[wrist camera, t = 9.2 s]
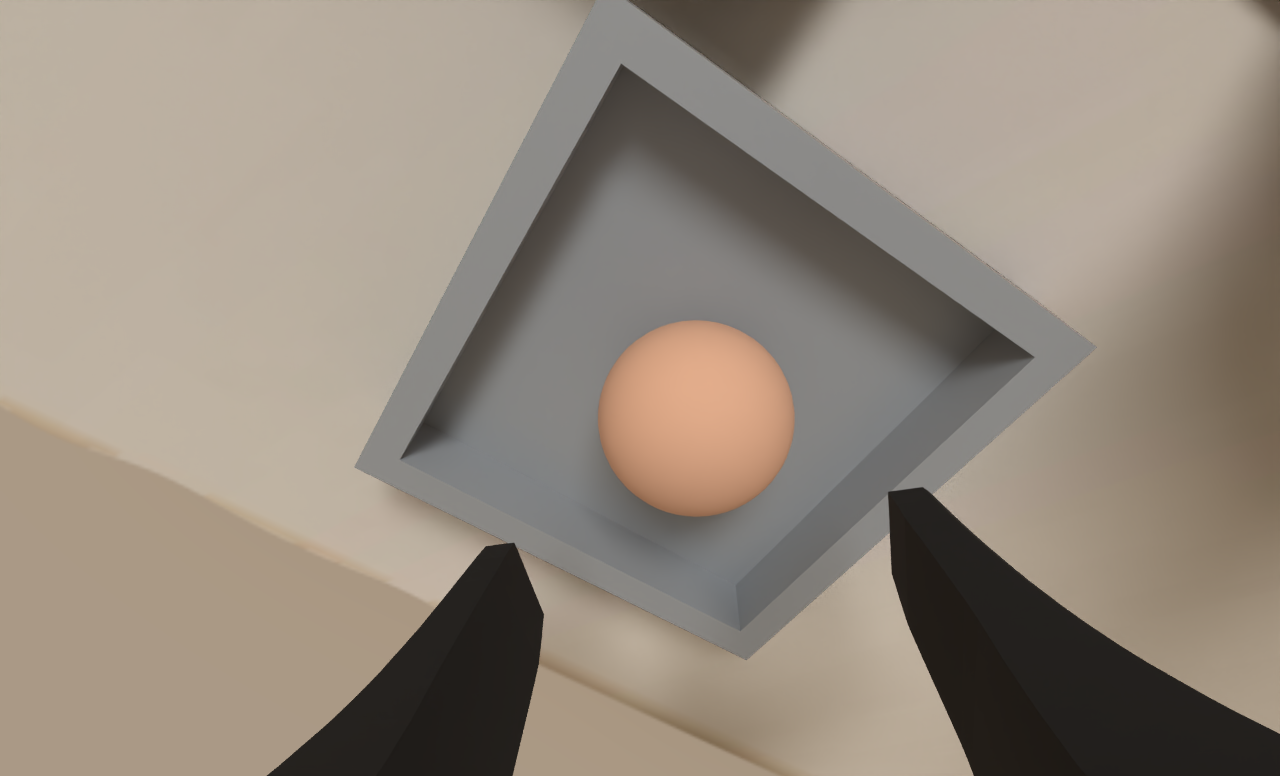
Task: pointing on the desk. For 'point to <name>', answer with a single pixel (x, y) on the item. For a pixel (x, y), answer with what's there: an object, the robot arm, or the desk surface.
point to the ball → (696, 418)
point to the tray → (709, 291)
